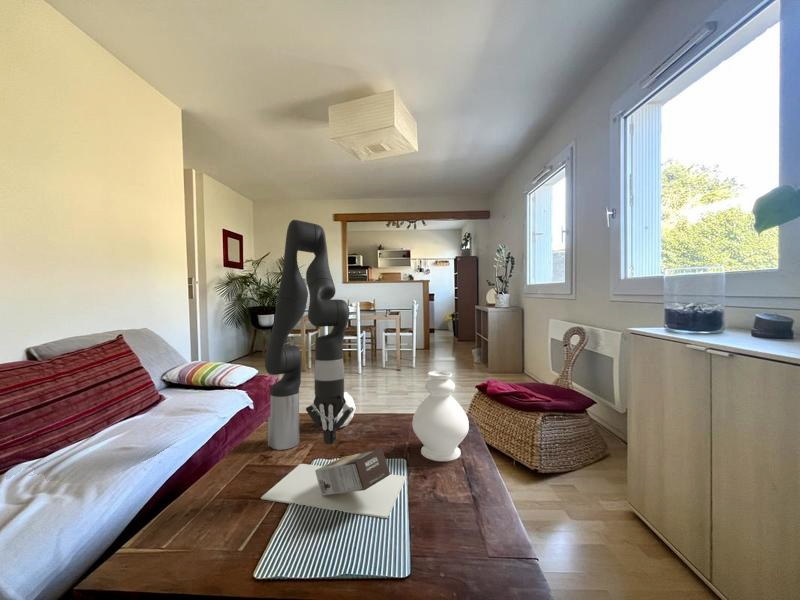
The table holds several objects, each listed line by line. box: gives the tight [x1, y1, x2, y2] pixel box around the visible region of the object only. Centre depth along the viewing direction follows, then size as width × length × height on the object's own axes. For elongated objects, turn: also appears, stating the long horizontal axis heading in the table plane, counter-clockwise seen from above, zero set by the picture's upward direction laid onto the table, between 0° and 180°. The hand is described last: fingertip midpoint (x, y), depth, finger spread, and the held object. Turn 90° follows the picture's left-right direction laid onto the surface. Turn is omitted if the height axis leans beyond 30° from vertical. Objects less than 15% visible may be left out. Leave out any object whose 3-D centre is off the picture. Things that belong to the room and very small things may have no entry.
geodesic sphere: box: [320, 391, 357, 429], centre depth 131 cm, size 15×14×14 cm
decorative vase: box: [411, 370, 470, 462], centre depth 107 cm, size 18×18×25 cm
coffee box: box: [315, 447, 391, 496], centre depth 81 cm, size 9×6×16 cm
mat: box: [260, 463, 407, 519], centre depth 86 cm, size 32×18×1 cm, turn 76°
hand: (329, 443), depth 87 cm, fingers closed
